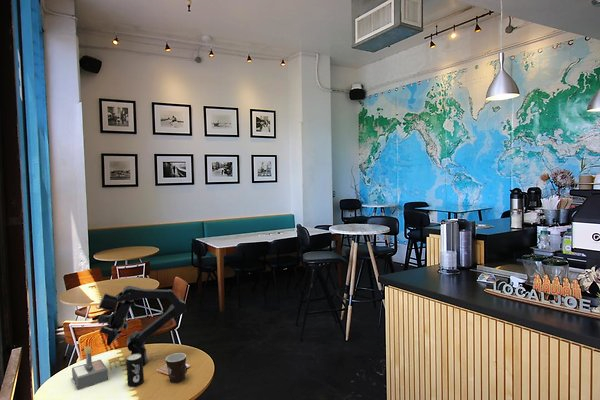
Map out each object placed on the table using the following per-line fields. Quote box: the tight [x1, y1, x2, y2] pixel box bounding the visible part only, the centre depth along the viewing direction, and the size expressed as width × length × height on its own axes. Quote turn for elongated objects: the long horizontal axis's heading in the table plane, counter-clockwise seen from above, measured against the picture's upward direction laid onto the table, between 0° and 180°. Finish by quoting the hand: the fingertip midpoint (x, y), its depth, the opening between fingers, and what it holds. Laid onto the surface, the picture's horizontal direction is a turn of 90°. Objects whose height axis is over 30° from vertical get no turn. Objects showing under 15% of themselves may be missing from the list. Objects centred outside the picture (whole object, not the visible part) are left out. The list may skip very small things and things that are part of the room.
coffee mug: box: [165, 352, 188, 384], centre depth 177 cm, size 12×9×10 cm
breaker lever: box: [83, 345, 93, 370], centre depth 182 cm, size 2×5×9 cm, turn 39°
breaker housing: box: [71, 359, 109, 391], centre depth 182 cm, size 12×13×5 cm
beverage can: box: [125, 354, 145, 387], centre depth 177 cm, size 7×7×12 cm
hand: (108, 345), depth 189 cm, fingers closed
